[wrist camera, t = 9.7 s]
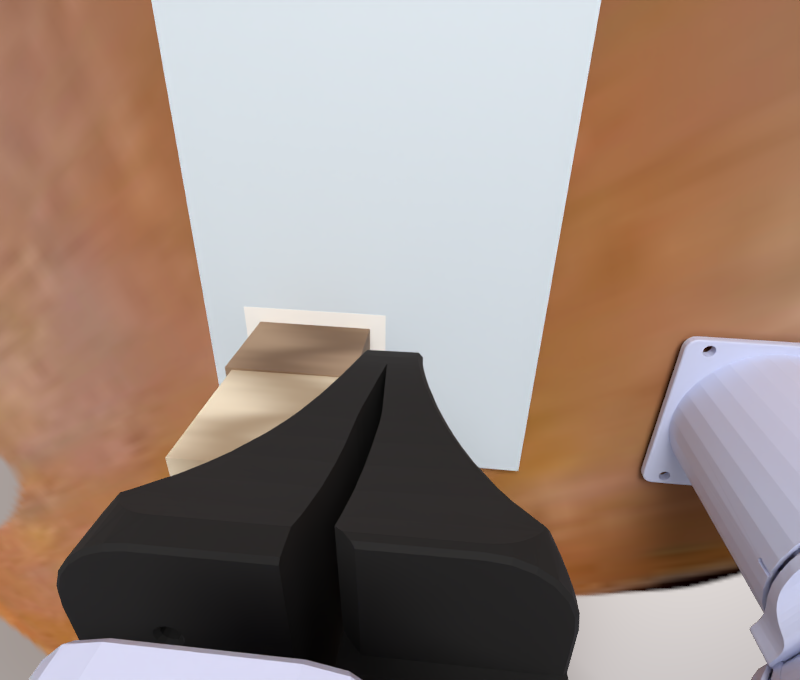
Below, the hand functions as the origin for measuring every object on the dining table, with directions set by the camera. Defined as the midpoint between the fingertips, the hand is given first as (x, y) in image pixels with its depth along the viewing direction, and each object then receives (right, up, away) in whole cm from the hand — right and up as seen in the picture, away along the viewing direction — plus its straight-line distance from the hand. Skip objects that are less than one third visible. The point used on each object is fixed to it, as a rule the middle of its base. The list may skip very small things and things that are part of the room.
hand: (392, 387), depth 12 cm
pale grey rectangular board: (-1, +5, +9) cm, 11 cm away
